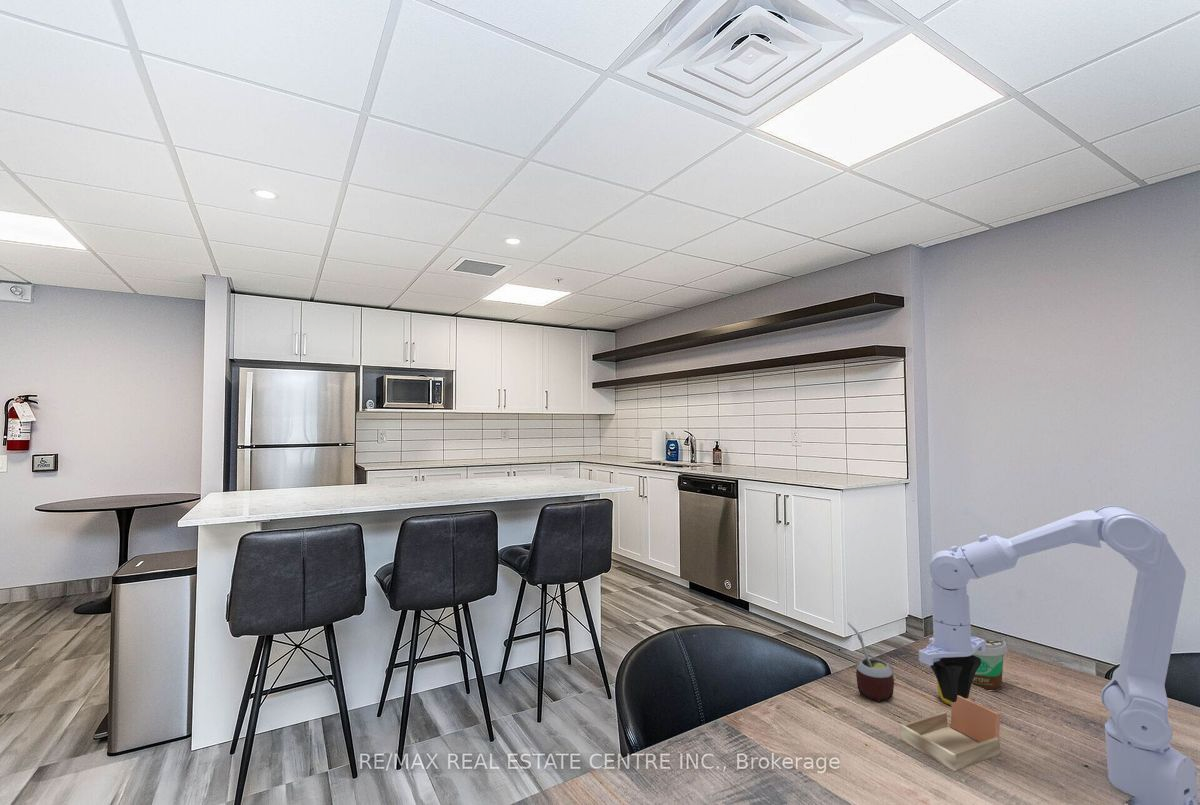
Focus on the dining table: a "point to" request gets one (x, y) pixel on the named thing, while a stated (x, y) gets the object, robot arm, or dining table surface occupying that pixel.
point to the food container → (990, 665)
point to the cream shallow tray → (946, 742)
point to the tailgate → (974, 720)
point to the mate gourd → (873, 676)
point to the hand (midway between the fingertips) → (955, 697)
